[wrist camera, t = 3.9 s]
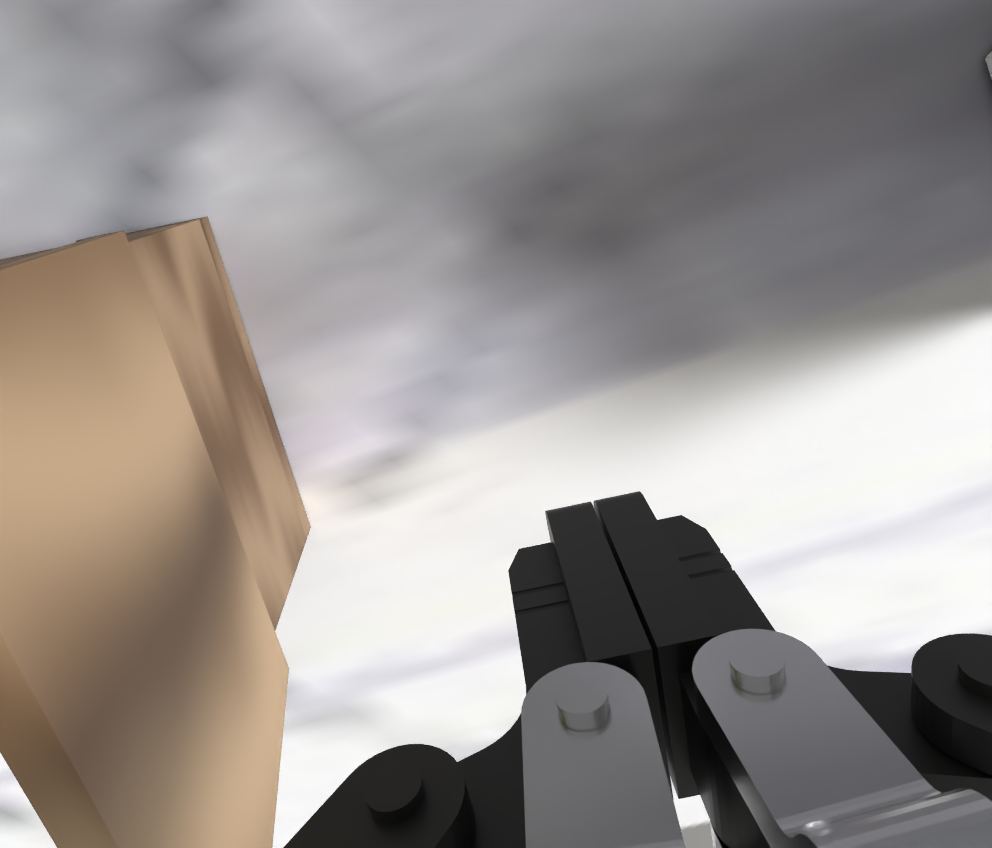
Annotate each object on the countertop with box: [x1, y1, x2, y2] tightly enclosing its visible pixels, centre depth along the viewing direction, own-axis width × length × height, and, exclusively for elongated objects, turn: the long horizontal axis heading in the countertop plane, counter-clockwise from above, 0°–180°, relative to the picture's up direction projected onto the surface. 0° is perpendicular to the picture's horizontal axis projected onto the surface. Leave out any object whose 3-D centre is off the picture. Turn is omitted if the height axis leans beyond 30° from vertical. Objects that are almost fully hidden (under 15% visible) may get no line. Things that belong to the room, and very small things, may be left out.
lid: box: [0, 231, 289, 848], centre depth 13 cm, size 12×10×1 cm
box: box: [0, 217, 311, 630], centre depth 21 cm, size 11×9×7 cm
